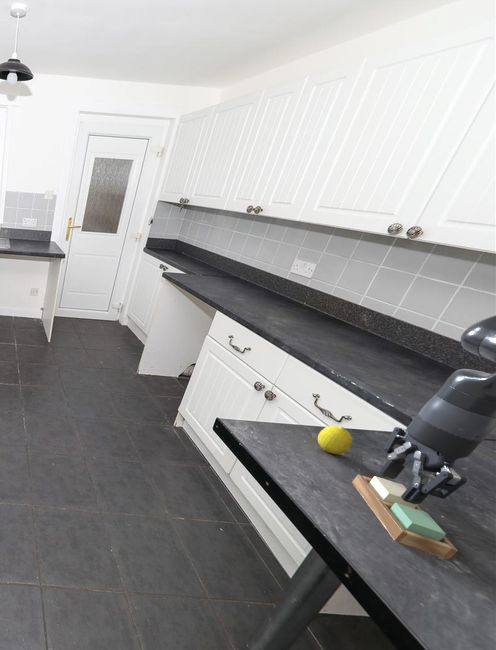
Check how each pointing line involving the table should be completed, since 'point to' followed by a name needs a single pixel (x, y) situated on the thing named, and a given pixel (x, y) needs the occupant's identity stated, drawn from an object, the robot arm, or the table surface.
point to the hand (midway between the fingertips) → (397, 487)
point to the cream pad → (389, 491)
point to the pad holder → (395, 528)
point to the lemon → (335, 439)
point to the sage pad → (417, 521)
